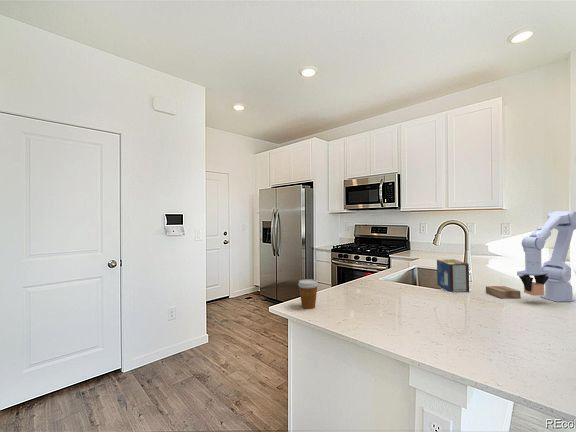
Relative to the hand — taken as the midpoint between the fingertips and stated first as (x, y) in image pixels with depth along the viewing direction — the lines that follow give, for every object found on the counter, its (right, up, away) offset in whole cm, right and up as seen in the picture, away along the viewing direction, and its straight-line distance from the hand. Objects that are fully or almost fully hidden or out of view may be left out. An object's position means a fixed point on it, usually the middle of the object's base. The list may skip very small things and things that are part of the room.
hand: (533, 290), depth 128 cm
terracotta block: (0, -2, 0) cm, 2 cm away
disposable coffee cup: (-107, -8, 0) cm, 107 cm away
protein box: (-22, -6, +27) cm, 36 cm away
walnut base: (-5, -6, +12) cm, 14 cm away
